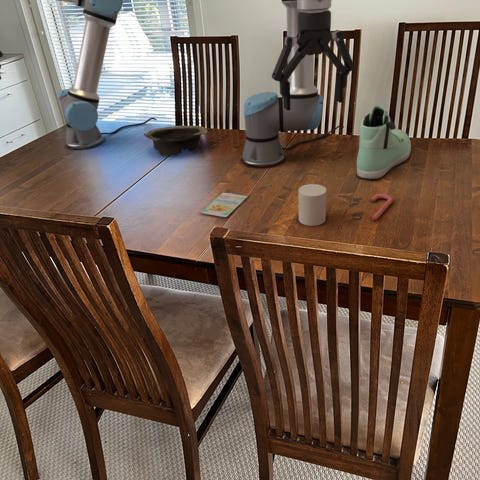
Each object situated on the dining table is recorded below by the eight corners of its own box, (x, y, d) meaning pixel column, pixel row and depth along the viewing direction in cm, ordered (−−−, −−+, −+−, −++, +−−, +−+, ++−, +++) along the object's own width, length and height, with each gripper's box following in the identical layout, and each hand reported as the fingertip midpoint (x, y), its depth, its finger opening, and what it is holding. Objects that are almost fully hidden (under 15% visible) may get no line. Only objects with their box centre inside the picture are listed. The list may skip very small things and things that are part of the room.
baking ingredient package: (199, 211, 142) (223, 191, 153) (199, 213, 142) (223, 192, 154) (226, 216, 138) (248, 195, 150) (226, 217, 139) (248, 196, 150)
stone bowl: (160, 165, 176) (155, 140, 172) (140, 150, 196) (135, 128, 192) (220, 149, 185) (217, 125, 181) (195, 136, 205) (192, 115, 201)
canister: (302, 227, 132) (302, 197, 127) (295, 214, 138) (295, 185, 133) (329, 223, 132) (330, 193, 128) (321, 211, 139) (321, 182, 134)
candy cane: (355, 217, 134) (355, 212, 134) (376, 195, 144) (376, 191, 144) (376, 222, 131) (376, 217, 130) (395, 199, 141) (396, 195, 141)
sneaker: (416, 146, 176) (423, 89, 165) (393, 183, 150) (400, 120, 140) (378, 142, 182) (383, 87, 171) (351, 177, 156) (354, 116, 146)
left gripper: (-89, 21, 150) (-62, 90, 161) (-3, 12, 158) (17, 78, 169) (-85, 19, 156) (-60, 85, 167) (-3, 10, 163) (16, 74, 175)
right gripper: (265, 17, 102) (269, 116, 113) (373, 6, 106) (366, 101, 117) (256, 14, 108) (260, 107, 119) (358, 3, 113) (353, 94, 124)
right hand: (313, 105), depth 118 cm, fingers open, 13 cm apart
